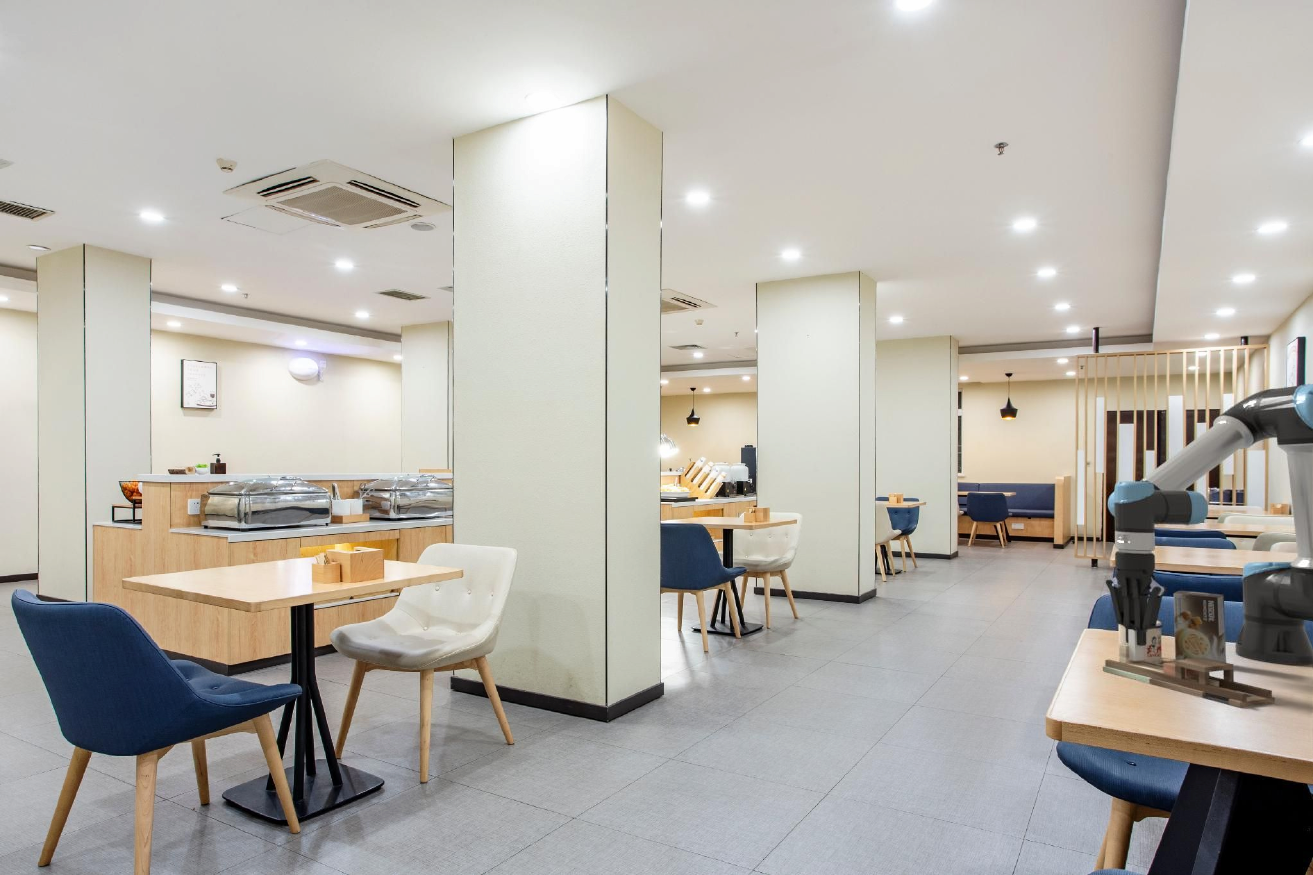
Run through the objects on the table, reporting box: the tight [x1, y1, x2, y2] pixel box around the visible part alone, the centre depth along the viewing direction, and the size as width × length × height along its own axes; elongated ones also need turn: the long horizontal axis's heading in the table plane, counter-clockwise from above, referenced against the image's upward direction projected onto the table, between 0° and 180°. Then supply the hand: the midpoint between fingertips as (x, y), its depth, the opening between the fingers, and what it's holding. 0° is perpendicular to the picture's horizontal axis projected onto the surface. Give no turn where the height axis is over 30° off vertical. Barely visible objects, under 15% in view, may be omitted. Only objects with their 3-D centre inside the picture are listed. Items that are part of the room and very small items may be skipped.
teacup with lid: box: [1118, 620, 1163, 664], centre depth 188 cm, size 12×9×12 cm
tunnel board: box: [1102, 658, 1276, 708], centre depth 163 cm, size 10×29×6 cm, turn 21°
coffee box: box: [1173, 590, 1227, 663], centre depth 185 cm, size 9×6×16 cm
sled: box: [1118, 644, 1219, 687], centre depth 167 cm, size 4×19×5 cm, turn 21°
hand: (1136, 659), depth 173 cm, fingers closed
